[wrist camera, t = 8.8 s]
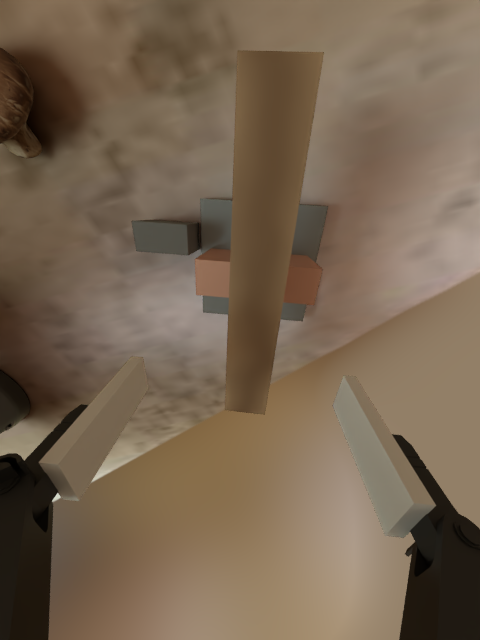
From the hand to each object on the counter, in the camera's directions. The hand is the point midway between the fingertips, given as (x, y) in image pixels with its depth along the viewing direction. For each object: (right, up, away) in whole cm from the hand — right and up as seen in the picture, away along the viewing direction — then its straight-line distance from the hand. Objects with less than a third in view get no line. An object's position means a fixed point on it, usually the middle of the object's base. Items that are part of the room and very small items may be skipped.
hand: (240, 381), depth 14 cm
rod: (+1, +7, +3) cm, 8 cm away
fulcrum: (+2, +10, +9) cm, 14 cm away
